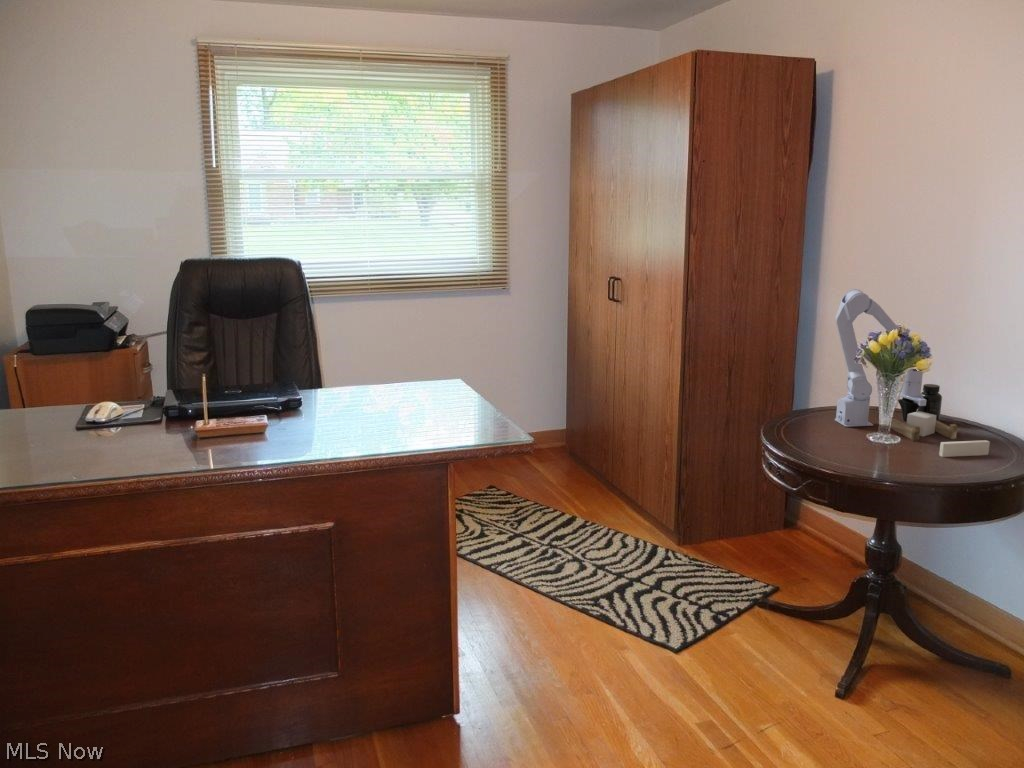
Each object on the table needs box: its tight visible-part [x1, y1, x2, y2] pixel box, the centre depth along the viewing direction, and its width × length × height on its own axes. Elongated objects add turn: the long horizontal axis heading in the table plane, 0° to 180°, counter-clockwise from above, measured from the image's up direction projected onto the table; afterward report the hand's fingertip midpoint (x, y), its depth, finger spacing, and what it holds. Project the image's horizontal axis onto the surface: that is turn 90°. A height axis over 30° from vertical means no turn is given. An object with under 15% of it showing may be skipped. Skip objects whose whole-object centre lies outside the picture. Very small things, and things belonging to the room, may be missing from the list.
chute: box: [890, 418, 958, 442], centre depth 250 cm, size 14×14×4 cm
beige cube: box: [905, 410, 936, 437], centre depth 251 cm, size 6×6×6 cm
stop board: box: [938, 439, 991, 458], centre depth 230 cm, size 14×2×4 cm, turn 95°
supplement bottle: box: [917, 383, 943, 422], centre depth 263 cm, size 7×7×12 cm
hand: (907, 421), depth 259 cm, fingers closed
